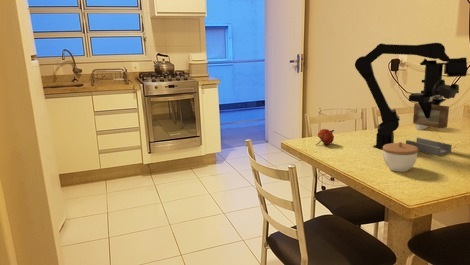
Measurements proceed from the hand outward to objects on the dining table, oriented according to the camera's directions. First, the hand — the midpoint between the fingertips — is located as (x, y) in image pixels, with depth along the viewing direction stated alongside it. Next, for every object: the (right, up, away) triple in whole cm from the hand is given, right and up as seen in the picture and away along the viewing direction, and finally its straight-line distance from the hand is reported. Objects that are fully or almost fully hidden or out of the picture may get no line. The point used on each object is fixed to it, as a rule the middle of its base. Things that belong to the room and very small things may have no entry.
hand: (429, 117), depth 133 cm
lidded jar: (-19, -18, -15) cm, 30 cm away
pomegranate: (-36, -11, +19) cm, 42 cm away
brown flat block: (0, -3, +1) cm, 3 cm away
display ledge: (+1, -13, +3) cm, 13 cm away
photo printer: (+17, -4, +37) cm, 40 cm away
